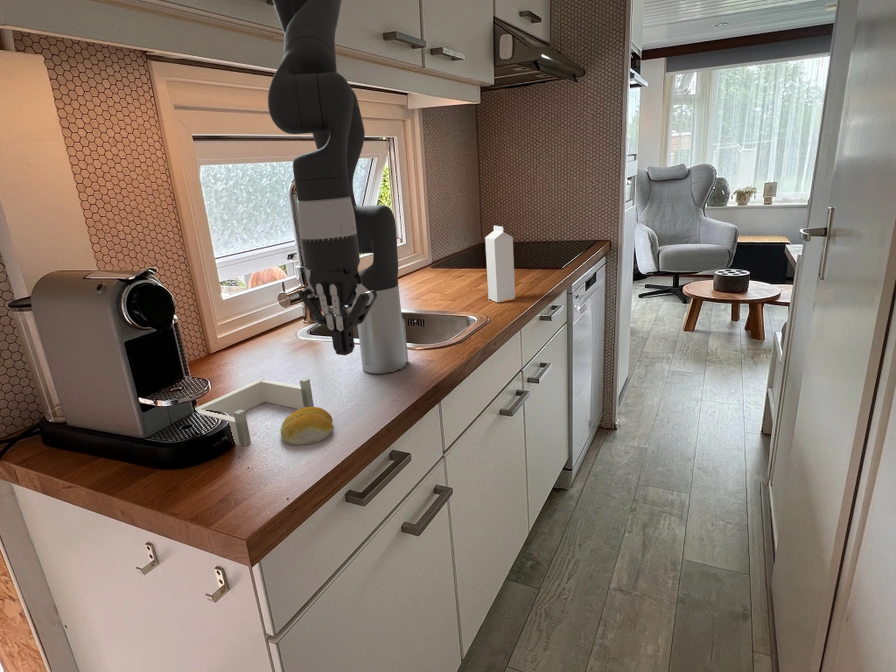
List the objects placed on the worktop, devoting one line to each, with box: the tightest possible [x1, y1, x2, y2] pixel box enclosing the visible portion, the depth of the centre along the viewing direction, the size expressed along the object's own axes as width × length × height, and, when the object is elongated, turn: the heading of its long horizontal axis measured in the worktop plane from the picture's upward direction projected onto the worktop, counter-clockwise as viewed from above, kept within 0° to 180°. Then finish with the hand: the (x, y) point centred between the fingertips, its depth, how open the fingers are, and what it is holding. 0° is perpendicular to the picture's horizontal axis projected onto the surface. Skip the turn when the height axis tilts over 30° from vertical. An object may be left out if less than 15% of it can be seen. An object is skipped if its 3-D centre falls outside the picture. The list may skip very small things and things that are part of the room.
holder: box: [194, 377, 315, 447], centre depth 96 cm, size 15×13×6 cm
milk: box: [484, 225, 516, 302], centre depth 165 cm, size 6×6×22 cm
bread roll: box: [280, 406, 334, 446], centre depth 91 cm, size 8×9×4 cm
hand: (344, 353), depth 82 cm, fingers closed
